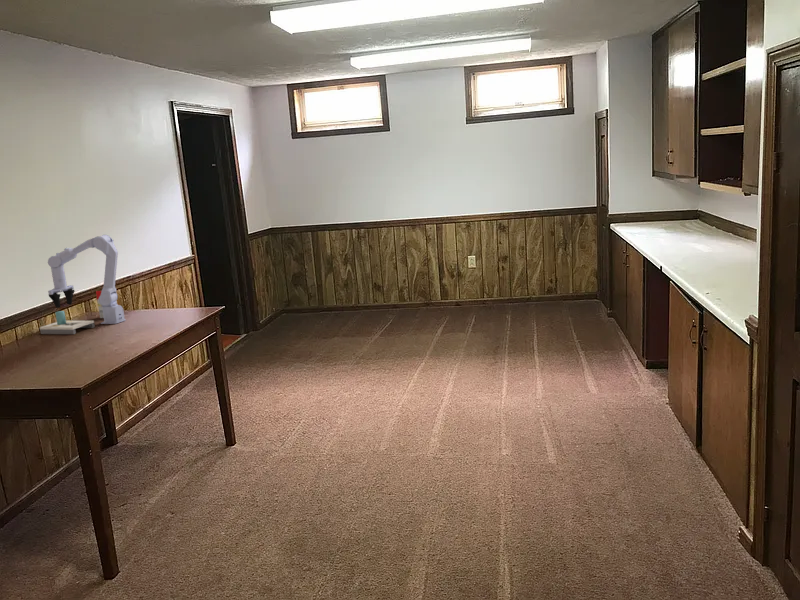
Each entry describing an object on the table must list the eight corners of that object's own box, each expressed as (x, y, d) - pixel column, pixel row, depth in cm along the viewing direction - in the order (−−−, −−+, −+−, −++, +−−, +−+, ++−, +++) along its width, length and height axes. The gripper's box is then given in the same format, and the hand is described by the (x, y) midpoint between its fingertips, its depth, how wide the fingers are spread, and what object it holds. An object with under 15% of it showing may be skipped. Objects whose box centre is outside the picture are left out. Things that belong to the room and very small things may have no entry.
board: (94, 327, 339) (93, 320, 339) (73, 334, 326) (72, 327, 326) (62, 326, 346) (61, 320, 345) (40, 333, 333) (39, 327, 332)
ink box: (119, 315, 365) (115, 288, 362) (114, 317, 360) (110, 290, 357) (104, 316, 366) (100, 289, 363) (99, 318, 361) (95, 291, 358)
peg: (69, 329, 338) (66, 310, 336) (62, 331, 334) (59, 312, 332) (63, 329, 340) (60, 310, 338) (56, 331, 336) (52, 312, 334)
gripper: (64, 277, 351) (68, 302, 353) (41, 282, 337) (46, 309, 340) (75, 276, 348) (79, 302, 351) (52, 281, 335) (57, 309, 338)
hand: (64, 305), depth 345 cm, fingers open, 7 cm apart
